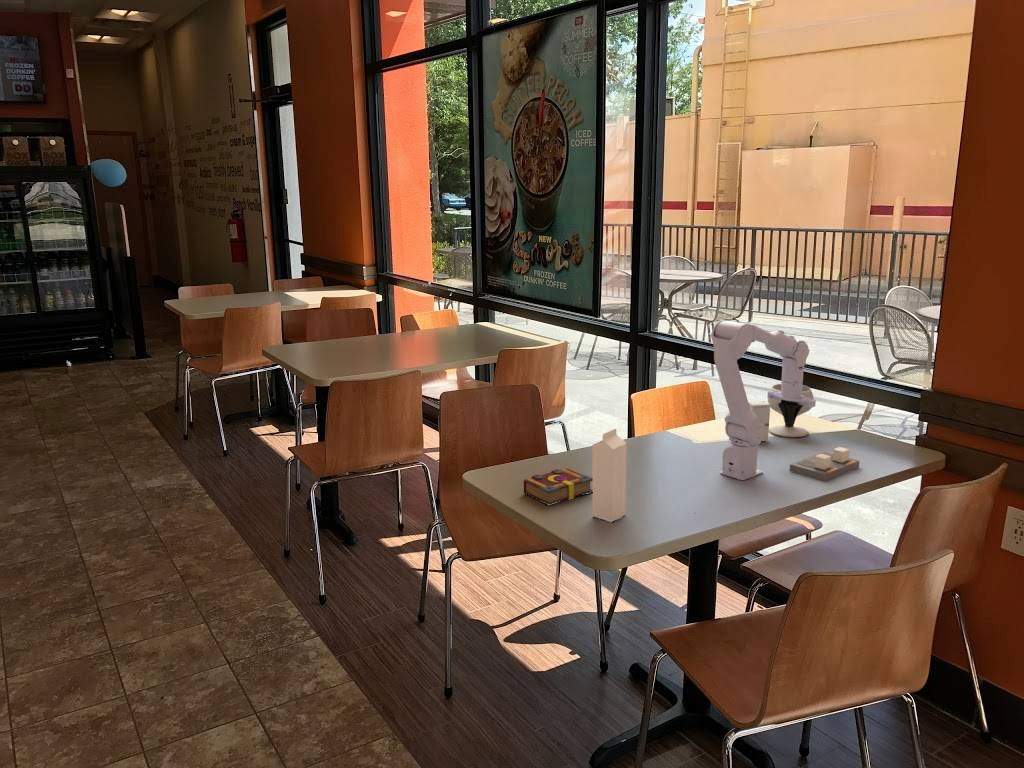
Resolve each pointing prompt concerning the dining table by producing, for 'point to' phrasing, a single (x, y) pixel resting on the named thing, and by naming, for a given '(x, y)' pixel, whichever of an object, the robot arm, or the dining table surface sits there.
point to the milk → (609, 477)
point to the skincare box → (762, 414)
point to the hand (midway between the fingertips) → (789, 426)
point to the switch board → (809, 470)
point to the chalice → (774, 405)
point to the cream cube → (841, 454)
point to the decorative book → (557, 485)
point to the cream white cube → (822, 461)
